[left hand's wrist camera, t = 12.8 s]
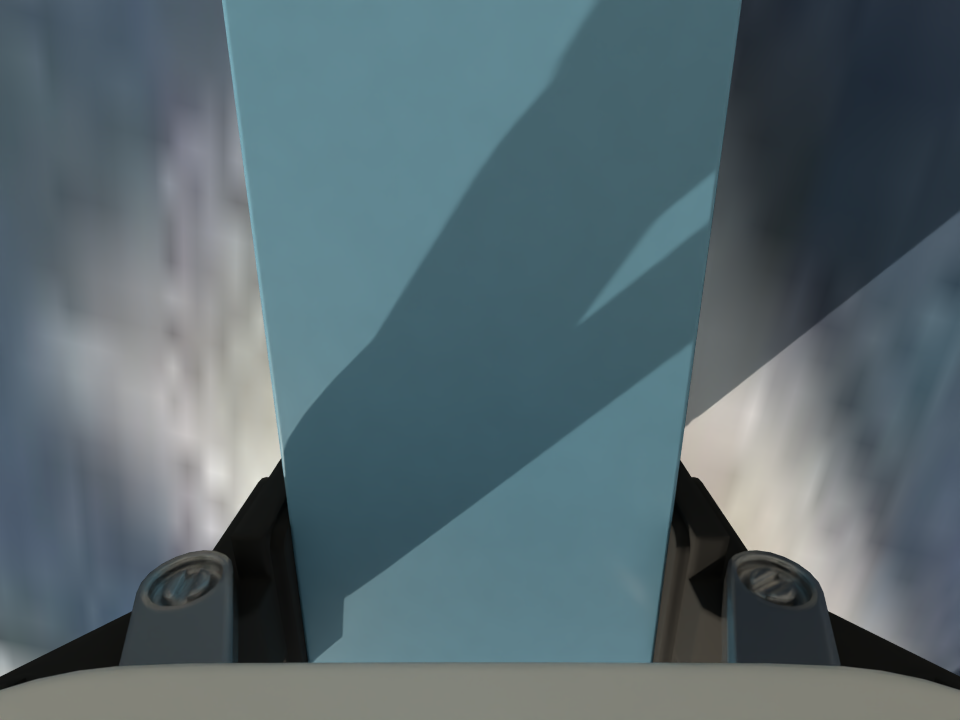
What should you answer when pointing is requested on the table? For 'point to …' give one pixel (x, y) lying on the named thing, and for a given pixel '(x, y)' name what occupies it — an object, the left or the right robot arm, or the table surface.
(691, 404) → the table surface
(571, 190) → the blue drawer box
